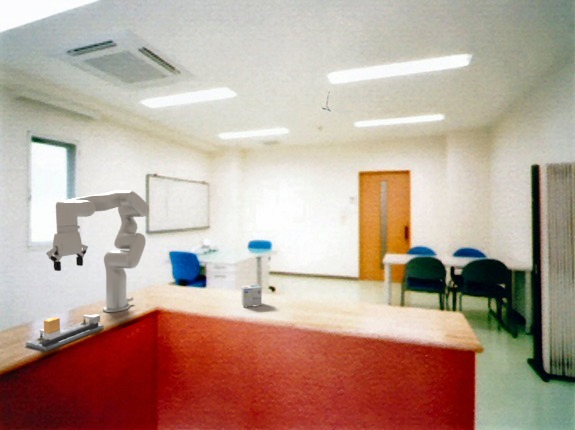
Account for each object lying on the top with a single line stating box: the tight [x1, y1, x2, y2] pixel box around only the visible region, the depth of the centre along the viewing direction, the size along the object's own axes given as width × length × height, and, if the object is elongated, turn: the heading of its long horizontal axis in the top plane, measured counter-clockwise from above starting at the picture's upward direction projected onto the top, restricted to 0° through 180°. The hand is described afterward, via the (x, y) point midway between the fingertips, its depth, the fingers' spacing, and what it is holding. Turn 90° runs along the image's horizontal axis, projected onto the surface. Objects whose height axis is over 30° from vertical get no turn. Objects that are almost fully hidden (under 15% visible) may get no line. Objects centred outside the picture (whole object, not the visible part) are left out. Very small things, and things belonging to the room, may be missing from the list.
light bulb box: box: [241, 284, 263, 307], centre depth 176 cm, size 11×7×11 cm, turn 108°
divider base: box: [25, 314, 104, 352], centre depth 131 cm, size 24×12×6 cm, turn 159°
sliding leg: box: [39, 316, 61, 340], centre depth 123 cm, size 4×9×8 cm, turn 69°
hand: (69, 267), depth 136 cm, fingers open, 9 cm apart
